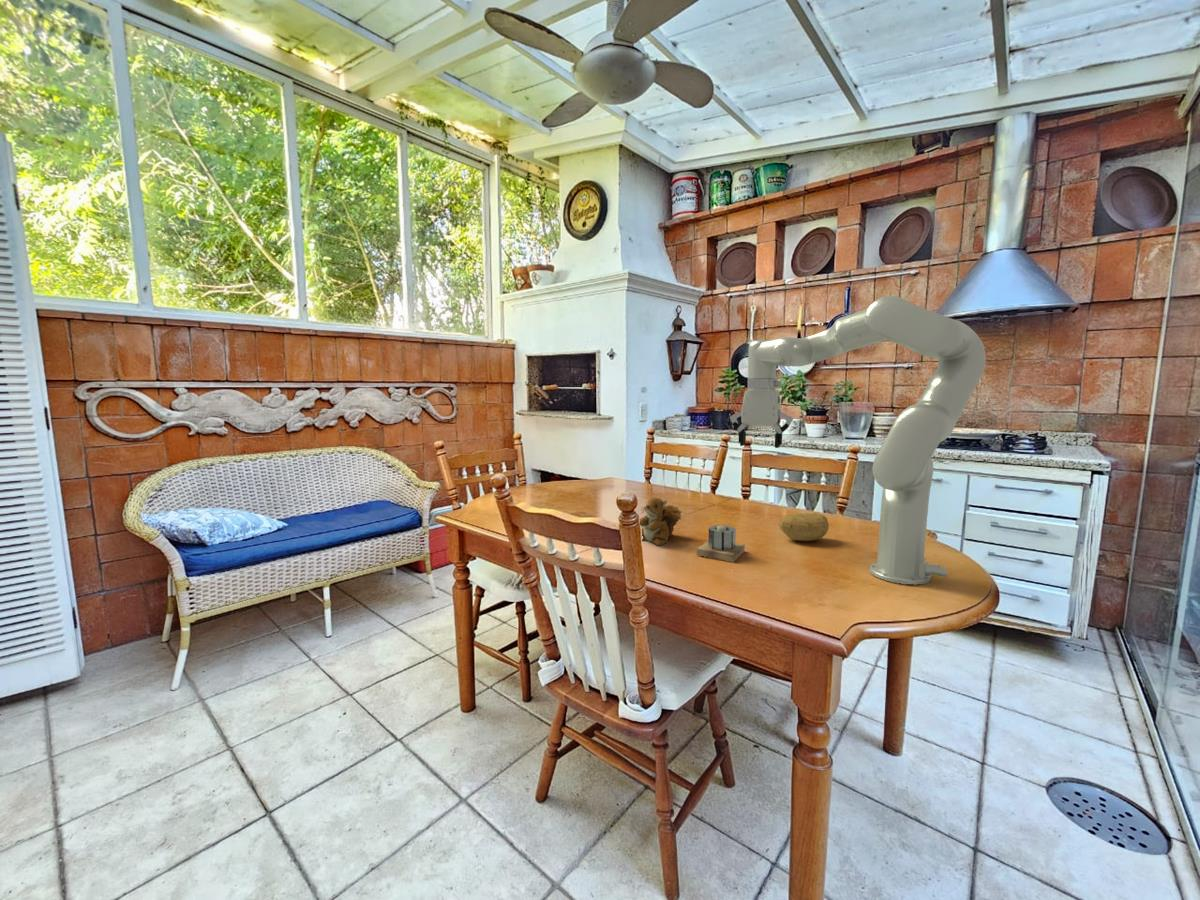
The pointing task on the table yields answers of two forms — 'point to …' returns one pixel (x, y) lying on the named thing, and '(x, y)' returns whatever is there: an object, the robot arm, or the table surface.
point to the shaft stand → (722, 555)
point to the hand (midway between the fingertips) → (759, 446)
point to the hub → (722, 538)
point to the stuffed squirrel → (659, 520)
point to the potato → (804, 526)
